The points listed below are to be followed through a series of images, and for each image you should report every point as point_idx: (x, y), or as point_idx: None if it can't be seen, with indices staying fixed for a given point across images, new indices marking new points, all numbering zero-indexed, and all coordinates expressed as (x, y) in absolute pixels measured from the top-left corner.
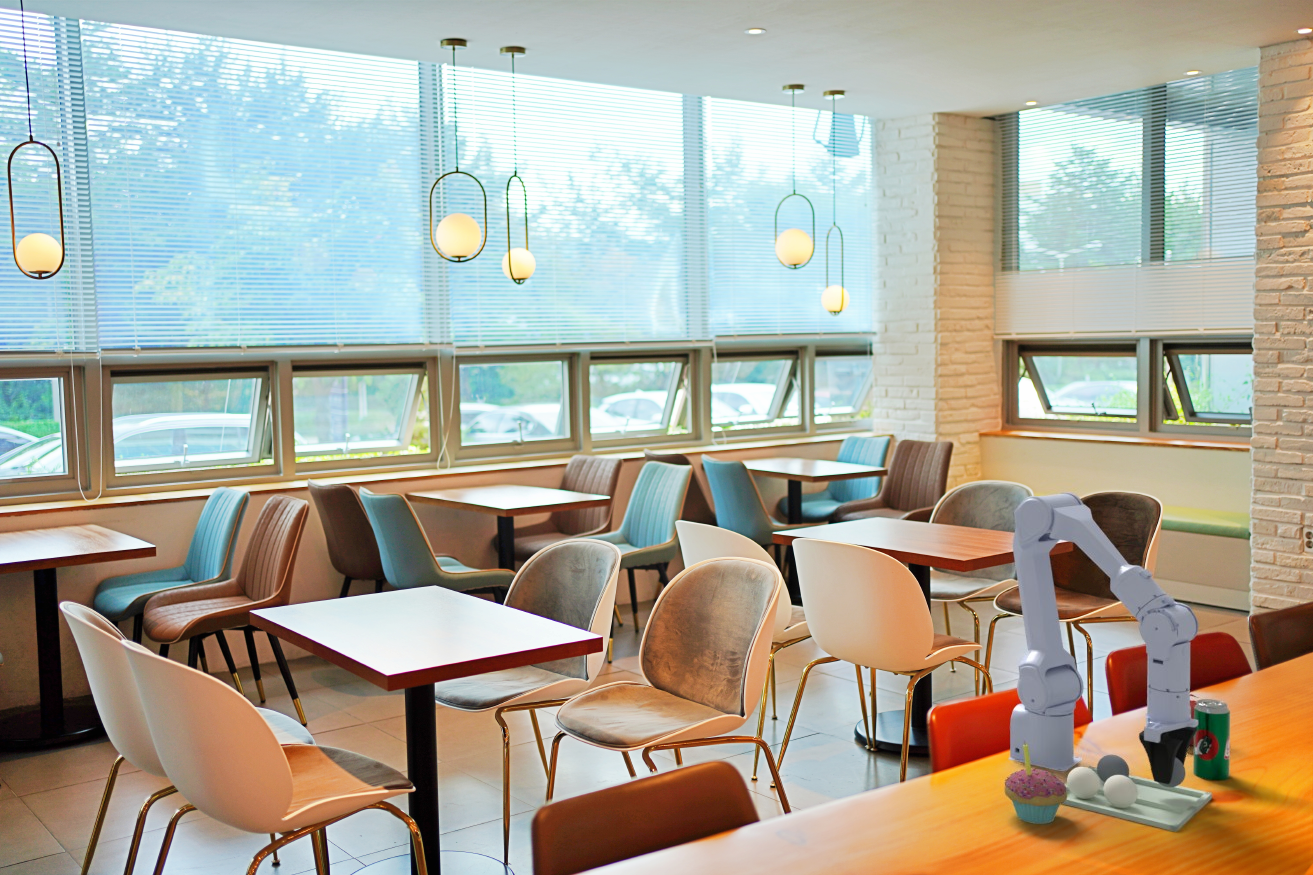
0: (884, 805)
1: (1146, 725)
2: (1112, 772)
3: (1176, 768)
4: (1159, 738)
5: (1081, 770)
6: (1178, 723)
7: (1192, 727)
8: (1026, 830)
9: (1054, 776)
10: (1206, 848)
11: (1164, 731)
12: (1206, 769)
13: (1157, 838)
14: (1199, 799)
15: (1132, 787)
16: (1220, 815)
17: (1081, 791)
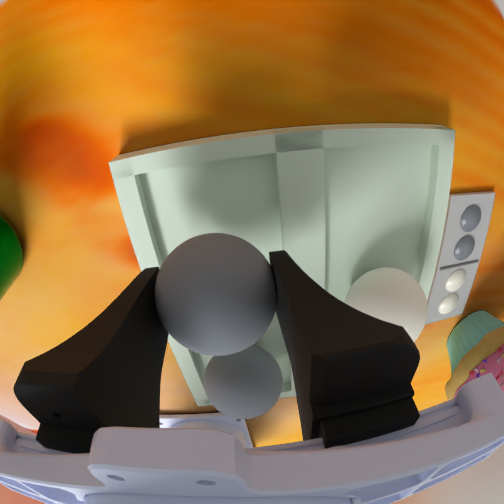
0: None
1: (461, 470)
2: (280, 375)
3: (245, 272)
4: (486, 390)
5: None
6: (350, 486)
7: (44, 396)
8: (500, 315)
9: (499, 375)
10: (461, 49)
11: (465, 427)
12: (5, 254)
13: (470, 154)
14: (195, 159)
15: (409, 295)
16: (208, 82)
17: None
